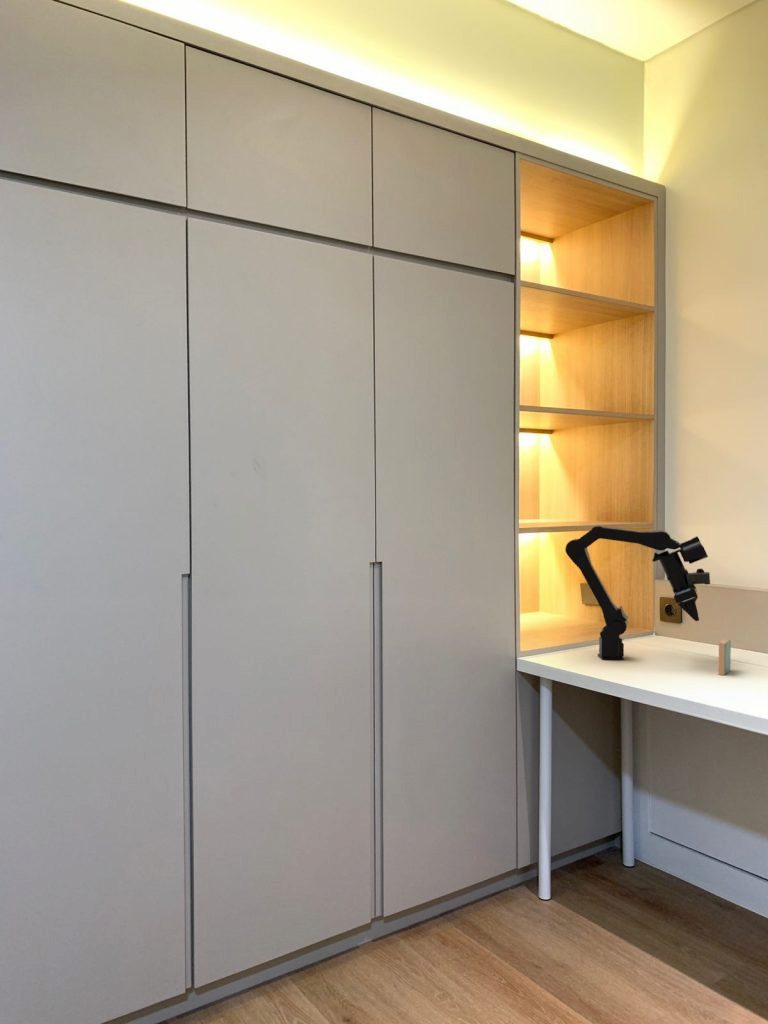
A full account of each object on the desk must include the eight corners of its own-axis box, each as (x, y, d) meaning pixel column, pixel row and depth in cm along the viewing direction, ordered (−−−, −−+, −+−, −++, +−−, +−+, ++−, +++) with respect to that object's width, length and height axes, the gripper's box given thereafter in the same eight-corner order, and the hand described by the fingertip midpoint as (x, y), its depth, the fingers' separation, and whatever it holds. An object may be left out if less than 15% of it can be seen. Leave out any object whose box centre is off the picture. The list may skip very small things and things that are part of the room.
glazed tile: (718, 674, 217) (718, 642, 217) (724, 669, 223) (724, 638, 223) (724, 675, 216) (725, 643, 216) (730, 670, 222) (731, 639, 222)
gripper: (702, 562, 220) (726, 613, 219) (700, 557, 238) (722, 604, 236) (664, 577, 224) (687, 627, 222) (665, 570, 242) (686, 617, 240)
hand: (697, 618), depth 230 cm, fingers open, 9 cm apart
